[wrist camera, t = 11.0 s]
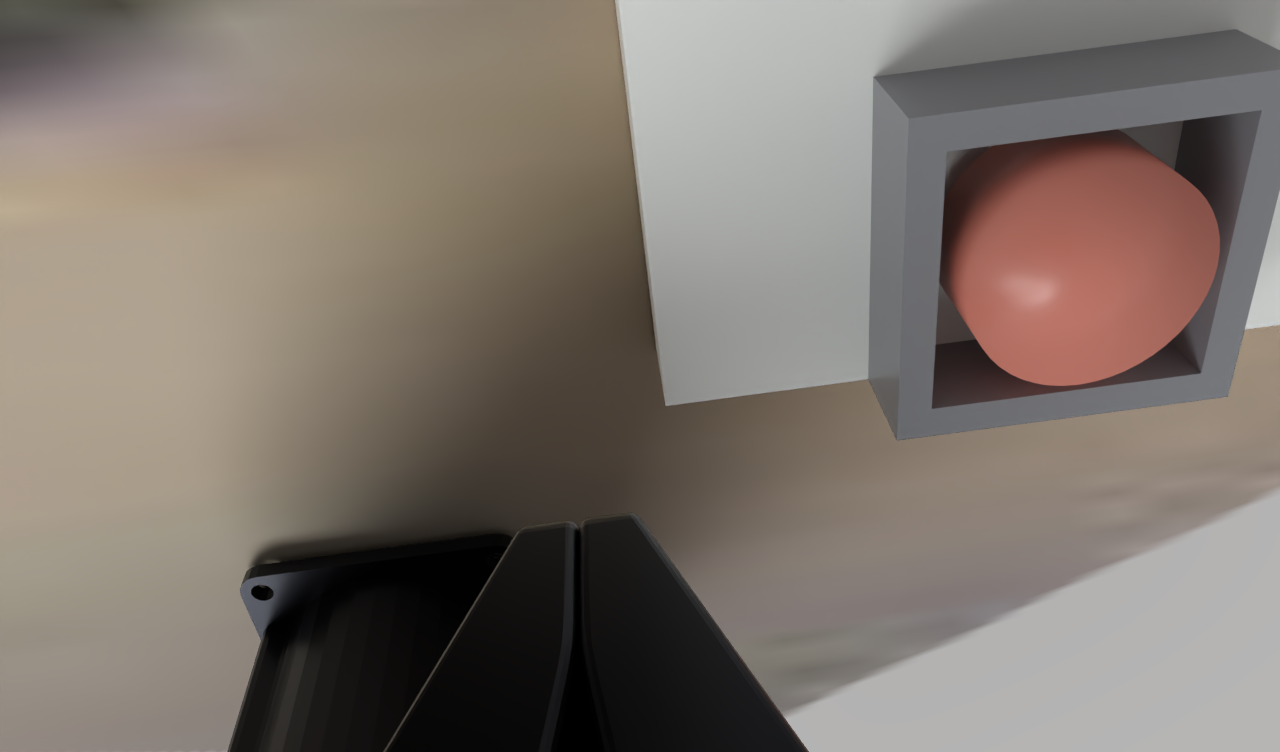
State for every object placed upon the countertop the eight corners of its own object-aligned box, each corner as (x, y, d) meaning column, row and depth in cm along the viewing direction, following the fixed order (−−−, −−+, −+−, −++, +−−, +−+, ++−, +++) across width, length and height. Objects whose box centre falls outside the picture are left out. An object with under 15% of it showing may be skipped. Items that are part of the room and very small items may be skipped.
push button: (927, 339, 19) (963, 399, 18) (938, 135, 17) (979, 183, 16) (1139, 311, 19) (1193, 369, 18) (1176, 103, 17) (1243, 148, 16)
